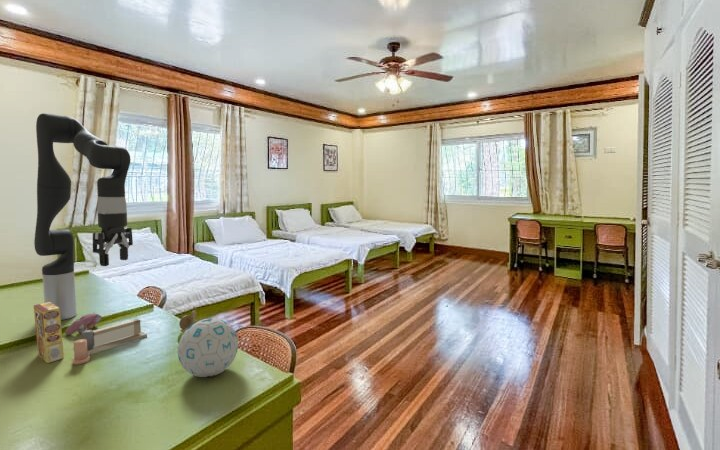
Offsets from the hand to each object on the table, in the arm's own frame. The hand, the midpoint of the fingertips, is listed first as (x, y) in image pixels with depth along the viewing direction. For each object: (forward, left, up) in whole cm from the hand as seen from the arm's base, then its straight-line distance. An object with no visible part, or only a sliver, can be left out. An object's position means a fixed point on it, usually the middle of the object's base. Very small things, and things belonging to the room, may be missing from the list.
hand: (114, 262), depth 115 cm
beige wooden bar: (+1, -2, -25) cm, 25 cm away
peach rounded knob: (+5, -12, -26) cm, 29 cm away
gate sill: (0, -1, -26) cm, 26 cm away
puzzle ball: (+41, +6, -26) cm, 49 cm away
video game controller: (-20, -3, -26) cm, 33 cm away
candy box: (-5, -16, -26) cm, 31 cm away
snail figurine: (+21, +12, -26) cm, 35 cm away
